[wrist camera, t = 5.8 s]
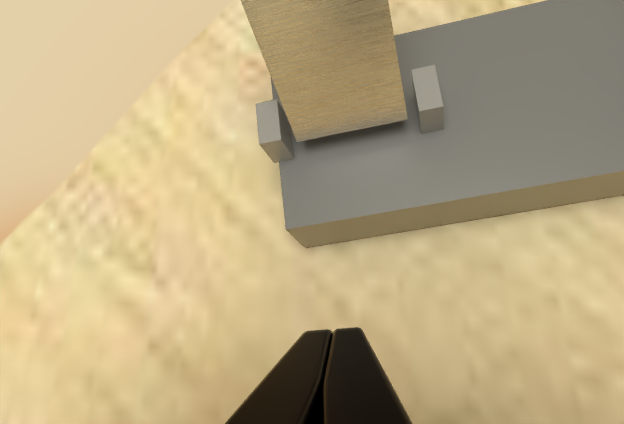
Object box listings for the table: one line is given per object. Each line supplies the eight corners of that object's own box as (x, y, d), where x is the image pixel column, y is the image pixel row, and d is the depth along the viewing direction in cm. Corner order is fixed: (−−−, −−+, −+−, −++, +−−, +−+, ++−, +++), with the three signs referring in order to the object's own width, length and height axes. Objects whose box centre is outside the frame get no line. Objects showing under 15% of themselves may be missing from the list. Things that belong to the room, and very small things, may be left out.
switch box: (865, 154, 19) (988, 87, 15) (300, 248, 23) (265, 216, 19) (789, -10, 22) (877, -111, 17) (285, 100, 25) (250, 40, 21)
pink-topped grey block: (414, 124, 19) (370, -162, 12) (291, 149, 20) (186, -106, 13) (406, 82, 21) (362, -195, 14) (291, 107, 21) (196, -144, 15)
